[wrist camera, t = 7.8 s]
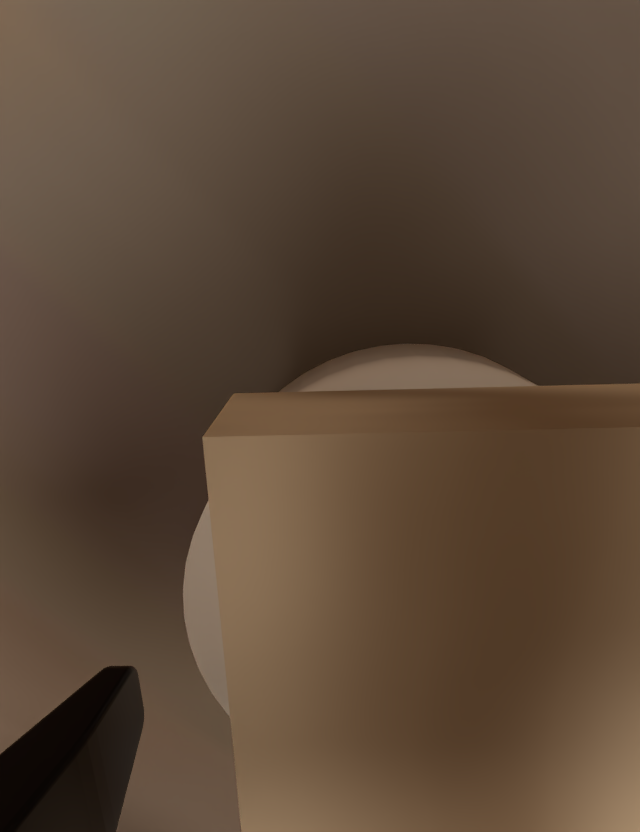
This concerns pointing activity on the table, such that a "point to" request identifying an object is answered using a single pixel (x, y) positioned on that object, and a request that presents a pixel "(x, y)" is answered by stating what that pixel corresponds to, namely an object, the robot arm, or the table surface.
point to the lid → (431, 607)
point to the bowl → (343, 373)
